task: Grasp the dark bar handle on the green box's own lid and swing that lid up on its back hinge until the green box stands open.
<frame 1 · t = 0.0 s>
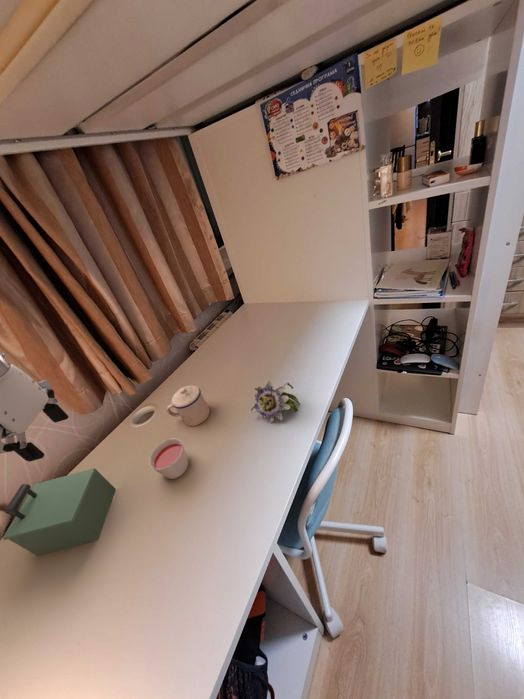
hand: (50, 437, 58), 27 cm above the table, tool pointing down, fingers open, 9 cm apart
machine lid: (46, 496, 66), point 12 cm above the table, hinge at 0.0°
green box: (78, 519, 72), on the table
passion flower: (277, 410, 84), on the table
candle: (177, 467, 77), on the table
teacup with lid: (193, 417, 91), on the table
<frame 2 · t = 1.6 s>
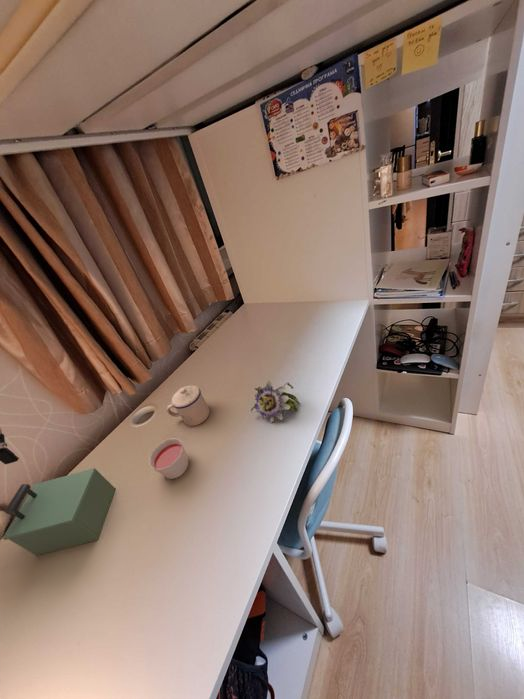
nothing on the table moved.
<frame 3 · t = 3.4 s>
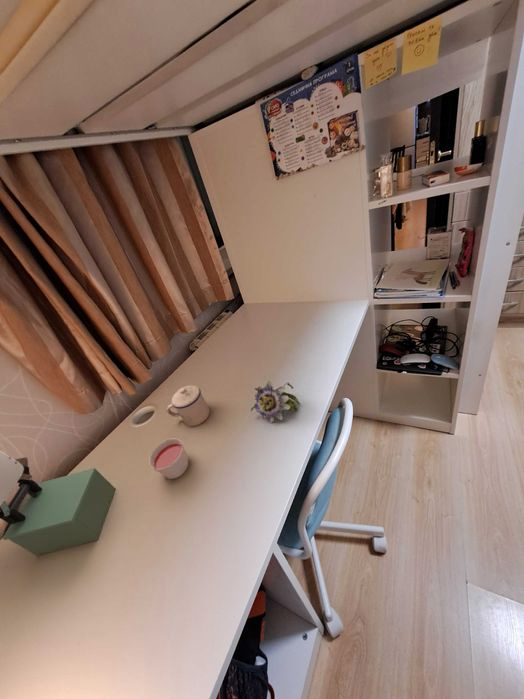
hand: (27, 505, 67), 10 cm above the table, tool pointing down, fingers closed on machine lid, 6 cm apart
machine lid: (46, 496, 66), point 12 cm above the table, hinge at 0.0°, touching gripper
everything else where it was.
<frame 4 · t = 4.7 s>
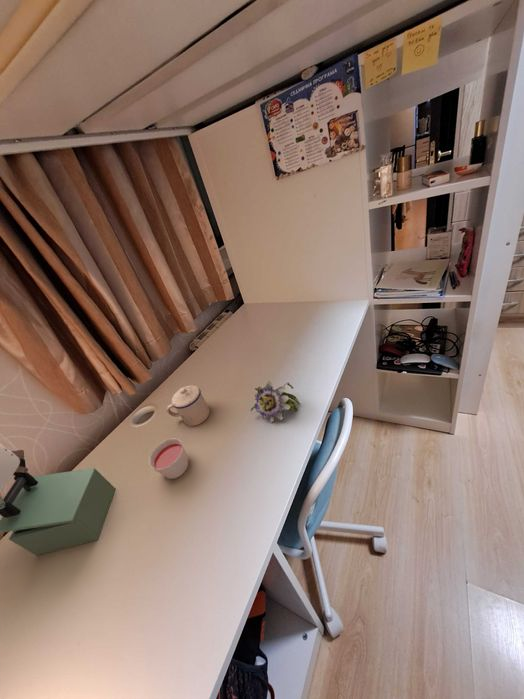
hand: (23, 498, 65), 13 cm above the table, tool pointing down, fingers closed on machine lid, 6 cm apart
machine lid: (43, 492, 65), point 13 cm above the table, hinge at 10.6°, touching gripper
everything else where it was.
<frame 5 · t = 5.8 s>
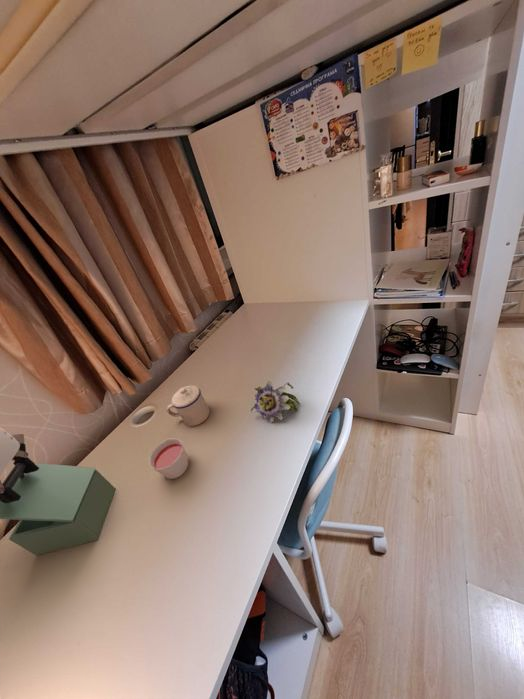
hand: (23, 484, 63), 17 cm above the table, tool pointing down, fingers closed on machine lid, 6 cm apart
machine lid: (44, 484, 63), point 16 cm above the table, hinge at 32.1°, touching gripper
everything else where it was.
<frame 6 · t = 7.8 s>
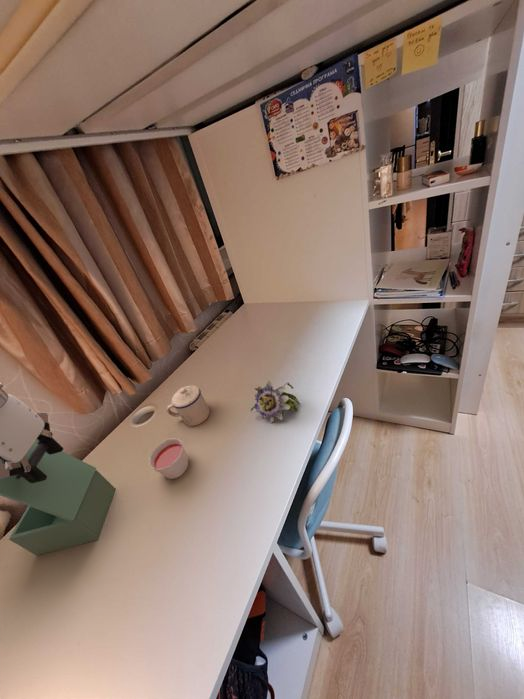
hand: (48, 465, 60), 21 cm above the table, tool pointing down, fingers closed on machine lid, 6 cm apart
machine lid: (57, 473, 62), point 18 cm above the table, hinge at 67.7°, touching gripper
everything else where it was.
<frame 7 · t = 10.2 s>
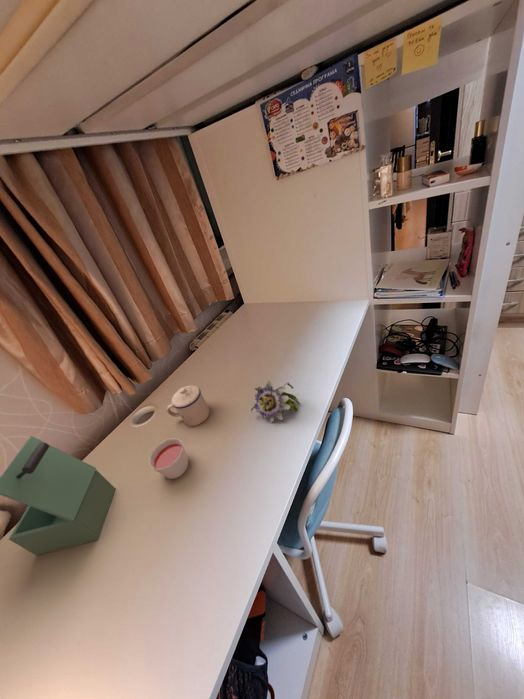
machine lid: (57, 473, 62), point 18 cm above the table, hinge at 68.3°
everything else where it was.
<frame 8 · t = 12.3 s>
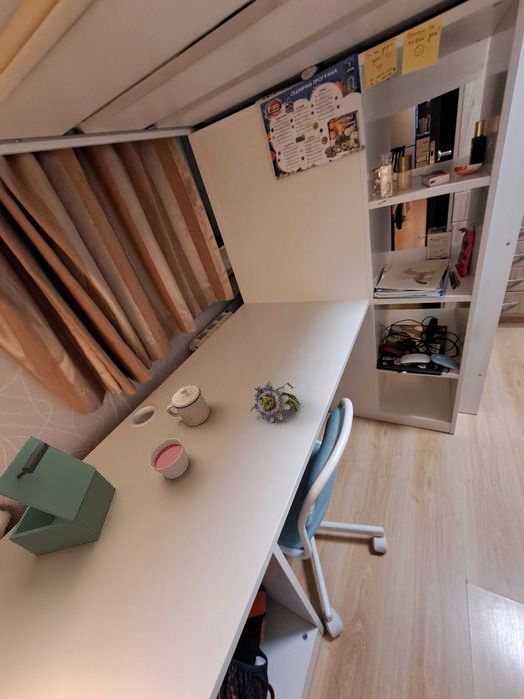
nothing on the table moved.
at the end: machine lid at +68° (first picture: +0°); teacup with lid moved 0.2 cm from its start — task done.
